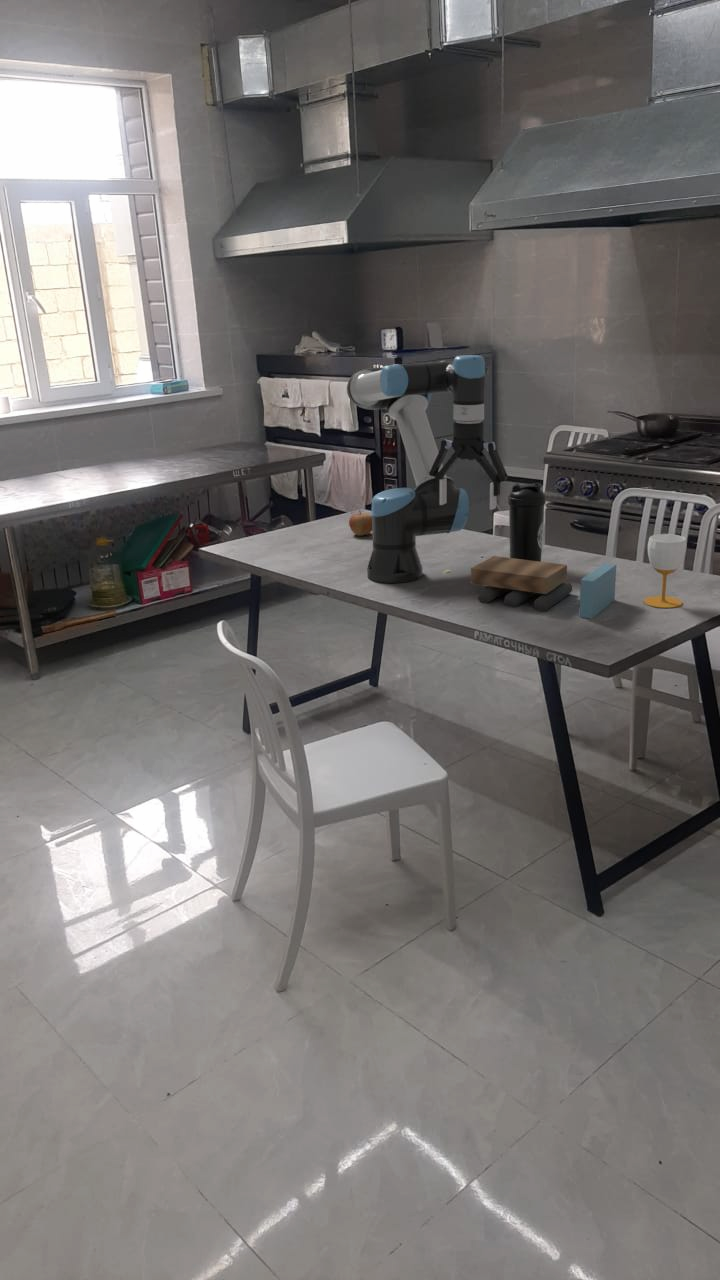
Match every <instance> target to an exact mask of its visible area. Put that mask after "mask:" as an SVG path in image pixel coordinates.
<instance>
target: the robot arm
mask: <svg viewBox="0 0 720 1280" xmlns="http://www.w3.org/2000/svg"><path fill="white" fill-rule="evenodd" d="M485 361H486V360H485V358H484V356H481V355H475V354H466V355H465V354H464V355H463V354H461V355H457V356H455V357H454V359H448V360H447V359H445V360H441V361H435V362H421V363H419V362H418V363H403V364H402V363H401V364H399V363H396V364H389V365H385V366H381V367H370V368H364V369H361V370H360V371H357V372H355V373H353V374H352V375H351V376H350V378H349V379H348V381H347V385H346V394H347V396H348V399H349V400H350V401H351V402H352V404H354V405H355V406H357V407H358V408H361V409H364V410H371V411H372V410H374V411H375V410H377V411H378V410H387V411H388V415H389V417H390V418H391V419H392V420H394V421H396V423H397V426H398V430H399V433H400V435H401V440H402V443H403V446H404V450H405V453H406V456H407V459H408V462H409V465H410V466H409V467H410V469H411V472H412V476H413V479H414V482H415V486H416V487H415V488H414V489H413V488H412V487H395V488H391V489H389V488H388V489H387V490H383V491H381V492H379V493H377V494H375V495H374V496H373V497H372V500H371V511H370V515H371V516H372V531H371V533H372V551H371V554H370V558H369V562H368V566H367V569H366V570H367V571H366V572H367V578H368V579H369V580H372V581H374V582H378V583H386V584H399V583H407V582H409V583H410V582H412V581H416V580H418V579H420V578H422V576H423V573H424V572H423V565H422V563H421V560H420V556H419V554H418V551H417V545H416V539H417V538H416V537H421V536H430V535H440V534H450V533H454V532H460V531H462V529H464V527H465V525H466V523H467V521H468V518H469V507H470V505H469V504H470V503H469V497H468V493H467V491H466V490H465V489H464V488H462V487H458V488H457V486H456V484H455V482H454V479H453V478H452V477H449V476H447V473H448V472H449V470H450V469H452V467H453V465H455V463H456V462H457V461H458V460H459V459H460V460H469V461H474V460H475V461H476V462H477V463H478V464H479V465H480V467H481V468H482V470H483V471H484V472H485V473H486V475H487V476H488V477H489V479H490V480H491V481H492V482H491V483H490V484H489V510H490V511H492V510H495V509H496V508H497V498H498V496H500V495H501V483H503V482H504V481H505V482H506V480H508V479H509V476H508V472H507V471H506V469H505V466H504V464H503V462H502V460H501V457H500V455H499V453H498V450H497V449H498V448H497V442H496V441H491V442H485V441H484V439H485V438H484V437H485V423H484V422H483V421H484V419H485V387H486V386H485V384H486V368H485V366H486V365H485V363H486V362H485ZM444 393H448V394H449V393H453V395H452V396H453V398H452V399H453V401H452V402H453V404H452V405H453V406H452V407H453V408H452V409H453V412H452V413H453V414H452V415H453V416H452V417H453V420H454V421H453V424H452V432H453V433H452V435H453V437H452V438H453V439H452V440H449V438H445V439H443V440H441V441H440V448H439V449H438V447H437V444H436V440H435V438H434V434H433V431H432V429H431V424H430V421H429V419H428V415H427V412H426V410H427V409H428V407H429V403H430V401H431V397H432V394H434V395H435V394H444ZM451 447H452V449H453V450H454V452H453V453H452V455H451V456H450V458H448V460H447V461H446V462H445V463H444V465H443V462H444V459H445V457H446V455H447V453H448V450H449V449H451ZM484 450H486V451H487V452H488V455H489V458H490V460H491V463H492V464H493V466H492V464H491V463H490V461H489V460H488V459H487V457H486V455H485V453H484V452H483V451H484Z"/></svg>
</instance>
